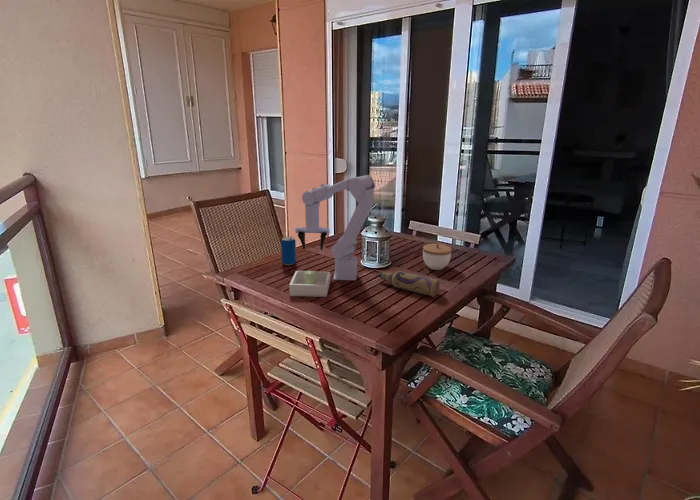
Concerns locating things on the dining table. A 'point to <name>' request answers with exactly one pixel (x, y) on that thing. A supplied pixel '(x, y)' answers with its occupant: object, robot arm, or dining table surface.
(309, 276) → the green cylinder
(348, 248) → the robot arm
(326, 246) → the dining table surface
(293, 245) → the beverage can
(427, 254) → the lidded bowl
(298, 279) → the bin
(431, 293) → the decorative bottle
